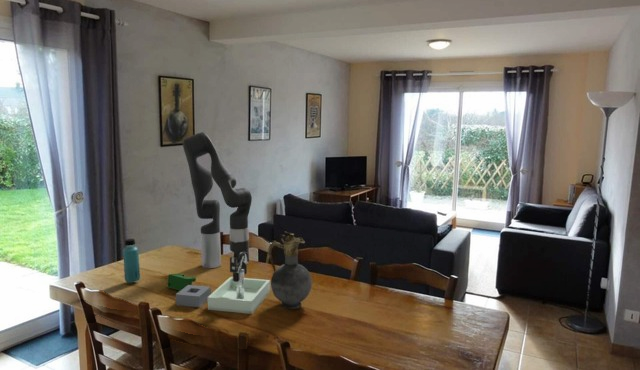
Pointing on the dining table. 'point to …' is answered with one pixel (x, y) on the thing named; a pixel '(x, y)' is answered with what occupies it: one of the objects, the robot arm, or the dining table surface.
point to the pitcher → (290, 274)
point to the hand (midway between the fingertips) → (240, 277)
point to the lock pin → (240, 285)
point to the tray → (227, 296)
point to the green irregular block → (179, 281)
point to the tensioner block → (193, 296)
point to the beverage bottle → (131, 261)
